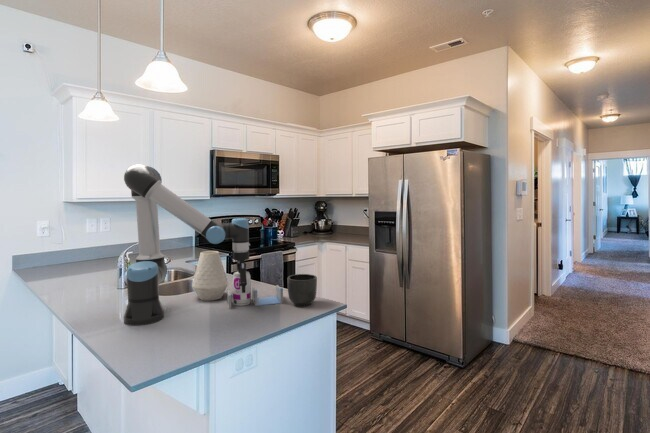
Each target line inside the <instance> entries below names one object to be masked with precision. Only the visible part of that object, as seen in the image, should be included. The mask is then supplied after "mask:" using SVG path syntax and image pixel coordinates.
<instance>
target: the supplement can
mask: <svg viewBox="0 0 650 433" xmlns="http://www.w3.org/2000/svg"><path fill="white" fill-rule="evenodd" d="M251 279H252V278H251V274H250V272H249V271H247V270H246V280H247V285H246V290H247V299H244V300H241V297H240V286H239V284H241V283H240V273H239V272H237V271H235V272H233V275H232V301H233V302H232V303H233V304H234V306H237V307H238V306H239V307H242V306H243V307H245V306H248V305H250V304H251V302H252V286H251V283H252V282H251V281H252V280H251ZM242 283H244V282H242Z"/></svg>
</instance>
